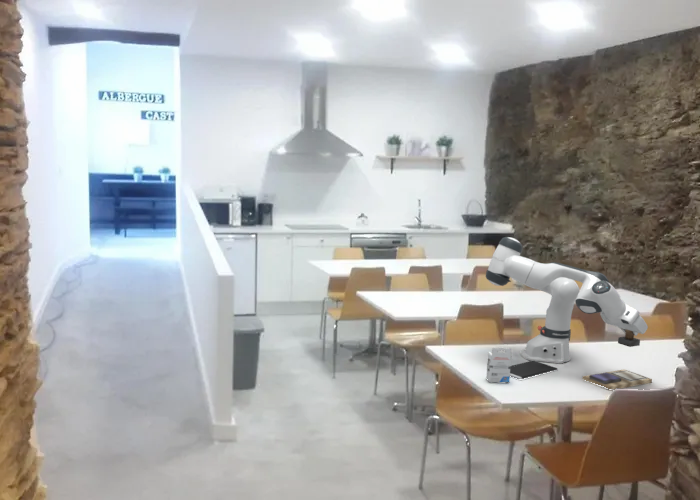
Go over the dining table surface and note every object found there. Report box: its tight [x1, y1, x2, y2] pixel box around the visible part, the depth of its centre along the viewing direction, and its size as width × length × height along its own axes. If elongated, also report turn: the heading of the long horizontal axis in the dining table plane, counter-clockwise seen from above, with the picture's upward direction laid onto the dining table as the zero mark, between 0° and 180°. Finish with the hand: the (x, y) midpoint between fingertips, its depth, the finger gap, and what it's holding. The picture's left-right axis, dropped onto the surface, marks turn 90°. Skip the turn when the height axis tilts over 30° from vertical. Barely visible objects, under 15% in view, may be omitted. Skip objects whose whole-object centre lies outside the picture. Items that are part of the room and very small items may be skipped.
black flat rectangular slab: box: [510, 360, 559, 380], centre depth 301 cm, size 13×27×2 cm, turn 129°
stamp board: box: [581, 369, 653, 390], centre depth 293 cm, size 26×14×3 cm, turn 119°
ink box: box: [485, 347, 512, 383], centre depth 284 cm, size 8×5×15 cm, turn 96°
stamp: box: [617, 329, 641, 348], centre depth 291 cm, size 6×6×9 cm
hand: (631, 332), depth 291 cm, fingers closed on stamp, 3 cm apart
